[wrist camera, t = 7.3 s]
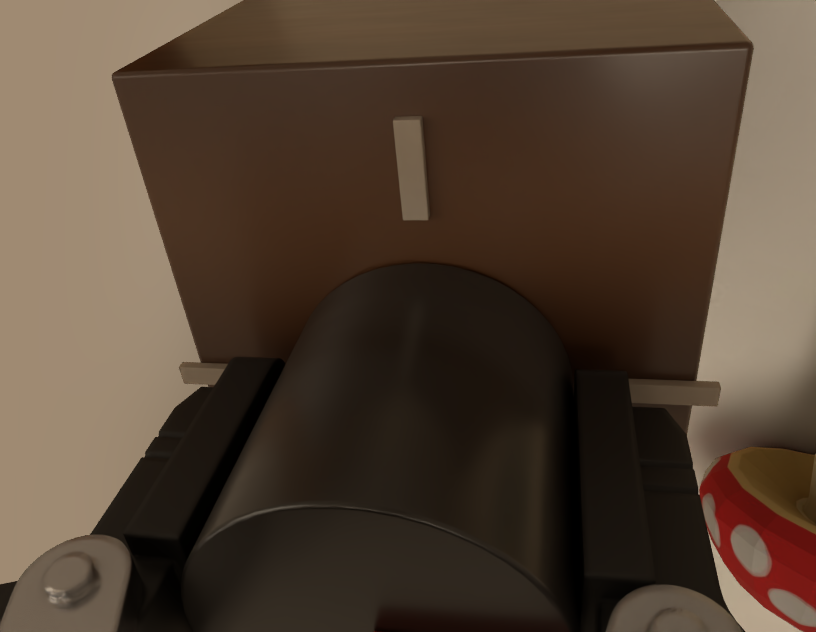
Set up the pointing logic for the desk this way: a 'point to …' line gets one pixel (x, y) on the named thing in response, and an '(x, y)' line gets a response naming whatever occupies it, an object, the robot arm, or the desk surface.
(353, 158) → the block
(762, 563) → the decorative mushroom
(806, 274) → the desk surface
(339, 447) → the rotary dial knob
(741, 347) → the desk surface
